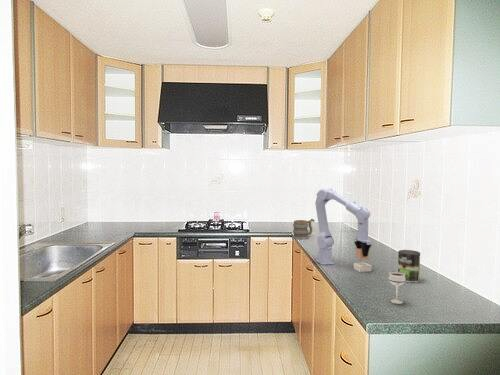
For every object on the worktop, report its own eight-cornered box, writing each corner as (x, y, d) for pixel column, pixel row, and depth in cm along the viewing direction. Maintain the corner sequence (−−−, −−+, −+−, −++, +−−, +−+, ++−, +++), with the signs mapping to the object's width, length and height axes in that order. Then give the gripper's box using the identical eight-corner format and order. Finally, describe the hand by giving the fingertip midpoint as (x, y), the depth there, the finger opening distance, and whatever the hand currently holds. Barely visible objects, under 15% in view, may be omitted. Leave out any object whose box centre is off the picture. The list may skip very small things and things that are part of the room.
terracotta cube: (356, 257, 209) (356, 248, 209) (364, 256, 210) (364, 248, 210) (360, 259, 205) (360, 250, 204) (368, 258, 206) (368, 249, 205)
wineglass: (400, 298, 162) (401, 271, 161) (408, 304, 155) (408, 275, 155) (385, 298, 162) (385, 271, 161) (392, 304, 155) (392, 275, 154)
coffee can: (413, 284, 182) (414, 255, 182) (393, 279, 190) (394, 251, 189) (423, 279, 189) (424, 252, 188) (404, 275, 197) (404, 248, 196)
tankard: (297, 240, 295) (297, 221, 294) (289, 237, 306) (289, 219, 306) (319, 238, 303) (319, 219, 302) (310, 235, 314) (310, 217, 314)
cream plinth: (353, 268, 211) (353, 263, 210) (365, 267, 212) (365, 262, 212) (359, 271, 204) (359, 266, 204) (371, 271, 205) (371, 265, 205)
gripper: (376, 232, 200) (376, 257, 201) (363, 228, 215) (362, 252, 215) (364, 233, 199) (363, 258, 200) (351, 229, 213) (351, 252, 214)
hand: (362, 255), depth 207 cm, fingers closed on terracotta cube, 5 cm apart
